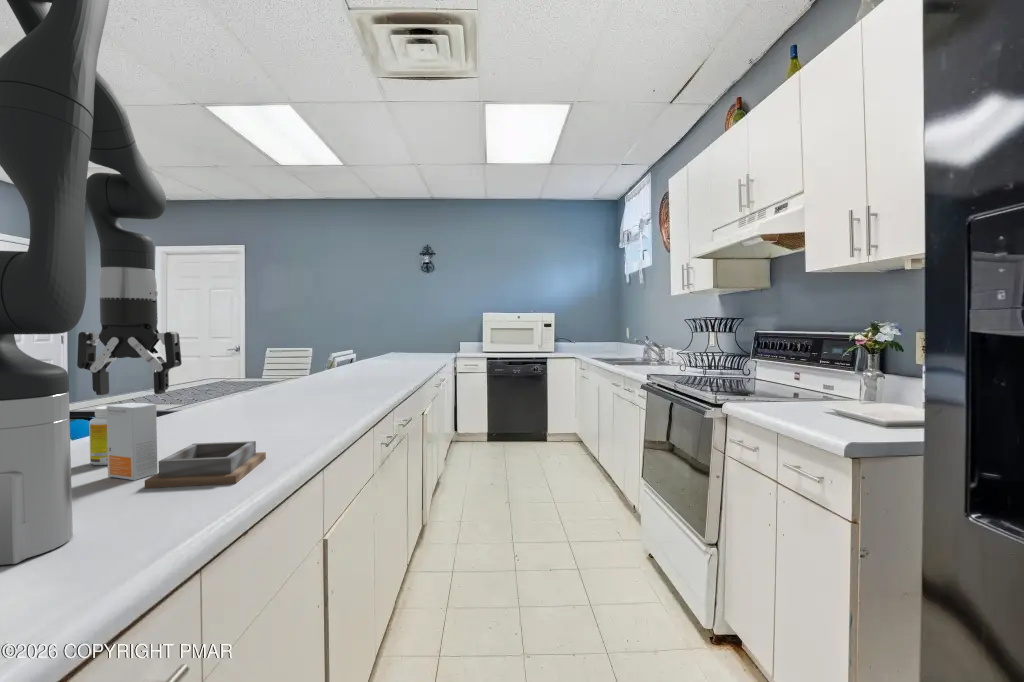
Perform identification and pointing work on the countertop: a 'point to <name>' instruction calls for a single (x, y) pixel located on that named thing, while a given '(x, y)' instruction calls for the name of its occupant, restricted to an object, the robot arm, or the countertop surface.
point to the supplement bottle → (98, 437)
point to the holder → (207, 464)
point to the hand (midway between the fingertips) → (131, 394)
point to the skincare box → (132, 440)
